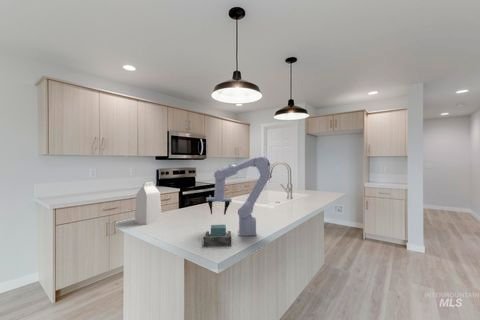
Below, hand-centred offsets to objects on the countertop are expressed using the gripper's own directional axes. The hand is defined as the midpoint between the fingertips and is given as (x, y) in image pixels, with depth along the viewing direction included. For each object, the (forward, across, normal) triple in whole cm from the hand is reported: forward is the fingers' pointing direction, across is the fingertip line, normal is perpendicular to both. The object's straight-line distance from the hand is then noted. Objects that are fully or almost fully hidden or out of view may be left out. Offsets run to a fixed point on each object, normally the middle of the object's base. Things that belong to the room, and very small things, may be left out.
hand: (218, 214), depth 129 cm
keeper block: (+10, 0, +8) cm, 13 cm away
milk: (+14, +44, -25) cm, 52 cm away
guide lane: (+9, 0, +14) cm, 17 cm away
